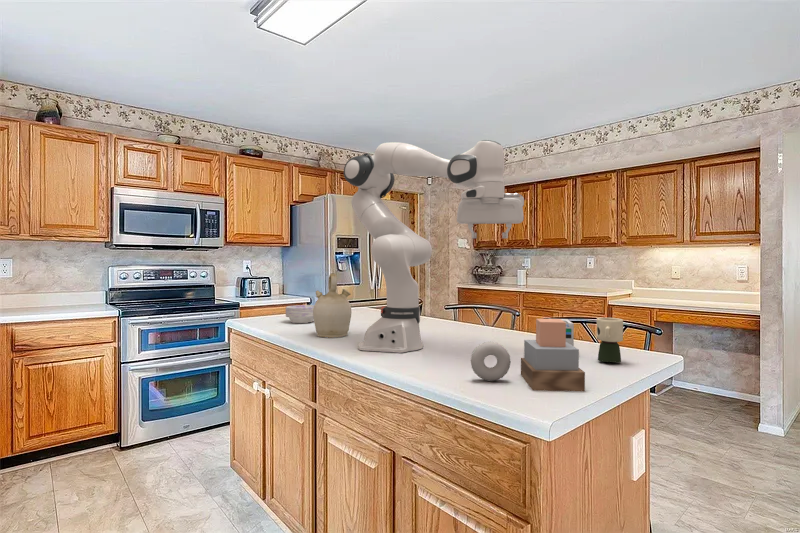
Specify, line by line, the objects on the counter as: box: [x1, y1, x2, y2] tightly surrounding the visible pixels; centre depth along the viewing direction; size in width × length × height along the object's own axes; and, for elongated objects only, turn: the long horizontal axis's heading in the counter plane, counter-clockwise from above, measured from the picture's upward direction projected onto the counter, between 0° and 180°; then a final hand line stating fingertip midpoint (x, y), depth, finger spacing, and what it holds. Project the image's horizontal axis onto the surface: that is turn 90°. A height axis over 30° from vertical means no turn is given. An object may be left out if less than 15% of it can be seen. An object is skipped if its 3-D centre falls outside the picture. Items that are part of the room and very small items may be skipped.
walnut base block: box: [520, 357, 586, 392], centre depth 112 cm, size 12×14×5 cm
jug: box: [313, 272, 352, 339], centre depth 180 cm, size 15×16×25 cm
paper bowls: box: [285, 304, 315, 324], centre depth 216 cm, size 15×15×8 cm
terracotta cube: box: [535, 318, 566, 347], centre depth 112 cm, size 6×6×6 cm
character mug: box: [596, 317, 624, 364], centre depth 133 cm, size 11×7×13 cm, turn 147°
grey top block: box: [523, 339, 580, 371], centre depth 112 cm, size 10×12×5 cm
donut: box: [470, 341, 511, 382], centre depth 113 cm, size 10×3×10 cm, turn 87°
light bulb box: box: [548, 318, 575, 347], centre depth 146 cm, size 11×7×11 cm, turn 169°
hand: (489, 238), depth 138 cm, fingers open, 8 cm apart
